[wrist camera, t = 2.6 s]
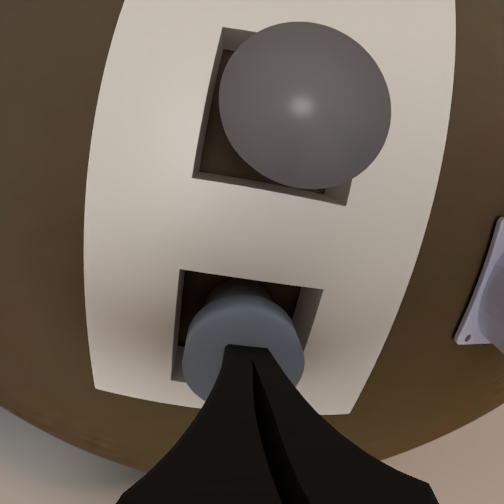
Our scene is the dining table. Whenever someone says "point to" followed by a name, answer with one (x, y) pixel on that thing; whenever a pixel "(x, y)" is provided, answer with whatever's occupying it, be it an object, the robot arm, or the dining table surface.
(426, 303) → the dining table surface
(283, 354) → the slate blue button
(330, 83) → the charcoal button
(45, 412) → the dining table surface
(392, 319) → the button panel
